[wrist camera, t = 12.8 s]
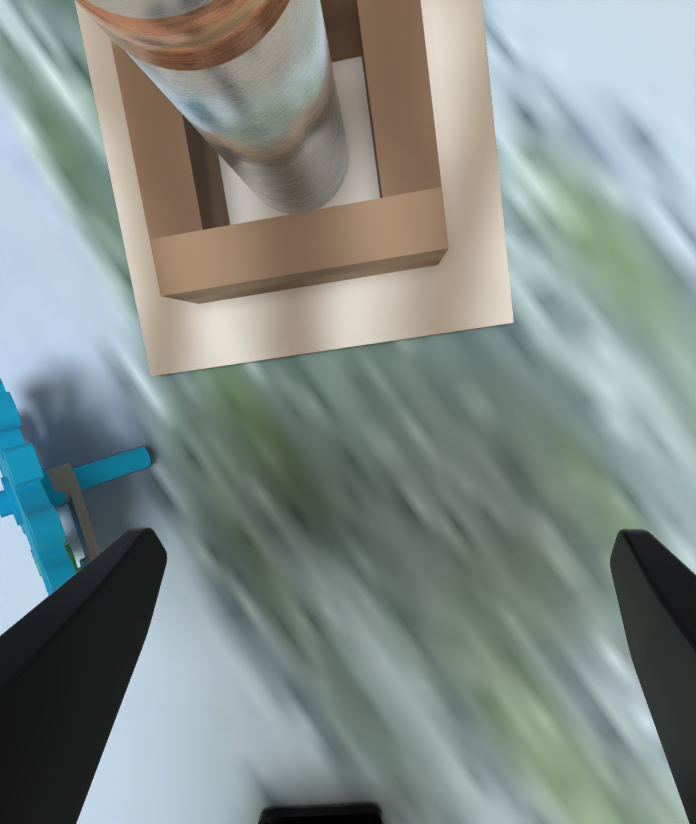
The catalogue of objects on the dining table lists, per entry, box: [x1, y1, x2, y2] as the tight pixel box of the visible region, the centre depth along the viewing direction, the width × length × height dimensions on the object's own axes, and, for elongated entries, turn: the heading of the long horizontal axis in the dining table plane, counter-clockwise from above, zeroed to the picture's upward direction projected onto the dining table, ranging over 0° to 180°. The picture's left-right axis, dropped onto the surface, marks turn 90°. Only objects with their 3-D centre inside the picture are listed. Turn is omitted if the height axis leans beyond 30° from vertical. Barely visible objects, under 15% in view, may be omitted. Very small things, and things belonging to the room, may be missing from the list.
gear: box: [0, 379, 151, 595], centre depth 21 cm, size 11×6×10 cm
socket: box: [75, 0, 514, 376], centre depth 18 cm, size 16×16×4 cm
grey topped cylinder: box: [75, 0, 349, 214], centre depth 13 cm, size 4×4×12 cm
